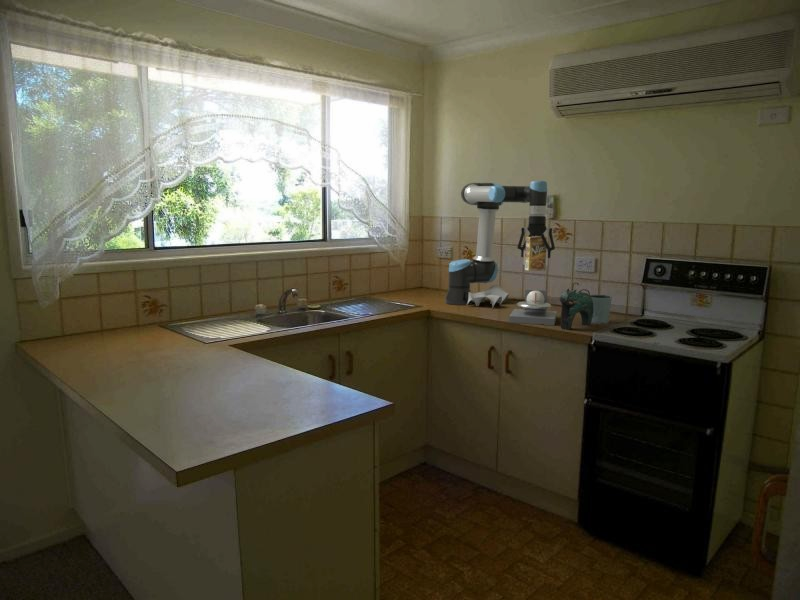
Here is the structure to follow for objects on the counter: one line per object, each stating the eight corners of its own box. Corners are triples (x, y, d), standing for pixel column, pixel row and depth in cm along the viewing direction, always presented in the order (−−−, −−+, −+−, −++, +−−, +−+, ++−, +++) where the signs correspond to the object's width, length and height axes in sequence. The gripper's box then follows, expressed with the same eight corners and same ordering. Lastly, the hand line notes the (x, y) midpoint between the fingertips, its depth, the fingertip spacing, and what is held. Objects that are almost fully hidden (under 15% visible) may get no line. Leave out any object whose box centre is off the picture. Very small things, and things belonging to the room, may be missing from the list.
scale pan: (515, 310, 265) (515, 305, 264) (519, 305, 279) (519, 300, 279) (549, 312, 260) (549, 307, 260) (551, 306, 275) (551, 302, 274)
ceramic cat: (566, 331, 247) (569, 284, 244) (554, 328, 252) (556, 282, 249) (595, 325, 259) (598, 281, 255) (583, 323, 264) (585, 279, 261)
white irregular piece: (498, 309, 298) (499, 291, 297) (463, 307, 306) (464, 288, 305) (511, 302, 321) (511, 285, 319) (478, 300, 329) (478, 283, 327)
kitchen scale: (508, 322, 264) (509, 294, 262) (514, 314, 283) (515, 288, 281) (554, 325, 258) (555, 296, 256) (556, 317, 277) (557, 290, 275)
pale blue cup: (613, 321, 268) (615, 296, 266) (604, 324, 260) (606, 298, 258) (592, 318, 275) (594, 293, 273) (583, 321, 267) (584, 296, 265)
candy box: (528, 271, 264) (530, 237, 261) (524, 270, 268) (525, 236, 265) (545, 270, 266) (547, 237, 264) (541, 269, 270) (542, 236, 268)
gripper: (511, 215, 263) (510, 264, 266) (562, 215, 256) (559, 266, 260) (513, 215, 270) (512, 263, 273) (562, 215, 263) (560, 265, 267)
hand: (535, 264), depth 267 cm, fingers closed on candy box, 9 cm apart
